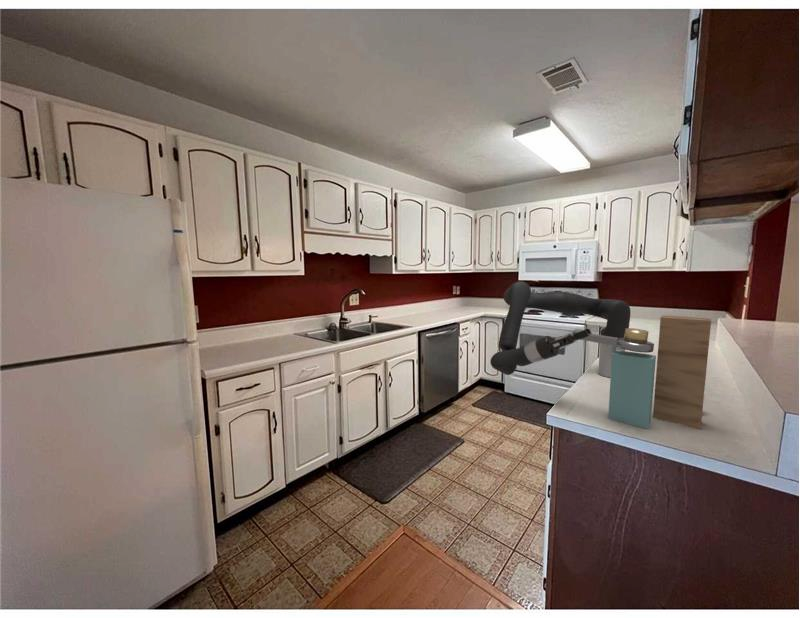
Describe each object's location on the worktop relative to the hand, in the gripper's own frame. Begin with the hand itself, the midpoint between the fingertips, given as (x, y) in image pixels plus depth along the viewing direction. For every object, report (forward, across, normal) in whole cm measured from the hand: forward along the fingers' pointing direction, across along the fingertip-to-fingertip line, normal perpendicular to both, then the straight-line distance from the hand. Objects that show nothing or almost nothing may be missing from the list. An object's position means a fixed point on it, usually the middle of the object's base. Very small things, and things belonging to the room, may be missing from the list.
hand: (588, 332), depth 104 cm
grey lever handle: (+4, 0, +6) cm, 7 cm away
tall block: (-2, 0, +29) cm, 29 cm away
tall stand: (+7, +10, +34) cm, 36 cm away
